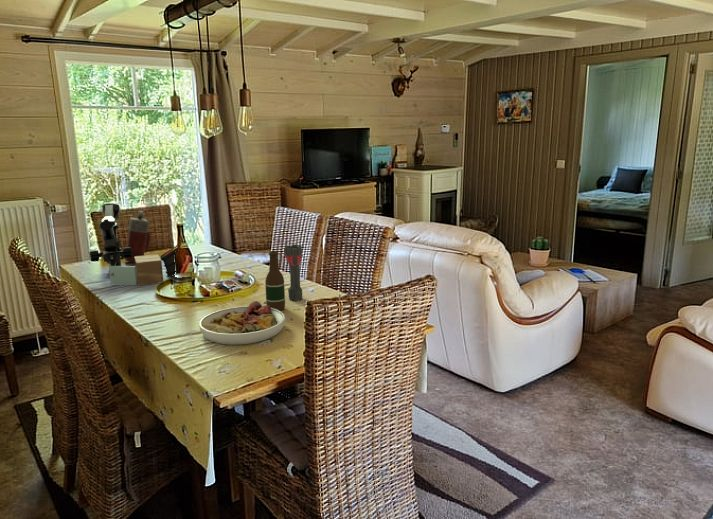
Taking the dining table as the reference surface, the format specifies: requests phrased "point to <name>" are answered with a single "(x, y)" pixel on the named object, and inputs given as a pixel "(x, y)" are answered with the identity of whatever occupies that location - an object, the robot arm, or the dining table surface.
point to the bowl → (242, 324)
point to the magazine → (169, 261)
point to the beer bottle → (275, 284)
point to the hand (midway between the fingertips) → (113, 268)
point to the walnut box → (149, 269)
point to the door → (123, 275)
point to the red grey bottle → (138, 236)
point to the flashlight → (294, 270)
